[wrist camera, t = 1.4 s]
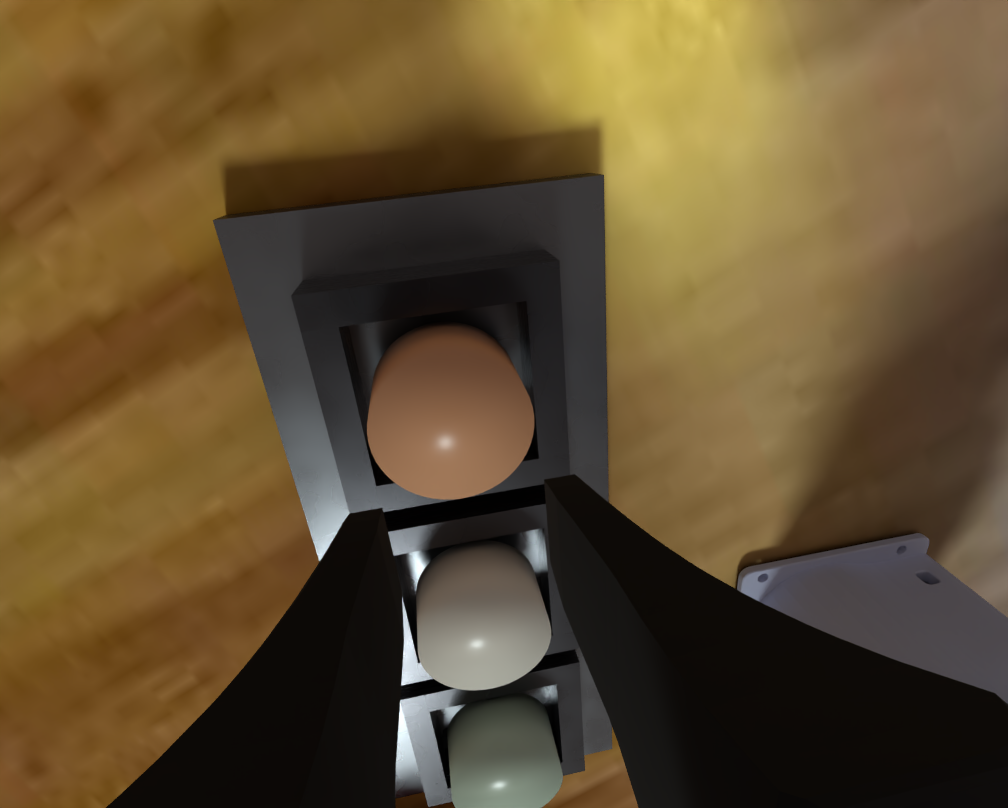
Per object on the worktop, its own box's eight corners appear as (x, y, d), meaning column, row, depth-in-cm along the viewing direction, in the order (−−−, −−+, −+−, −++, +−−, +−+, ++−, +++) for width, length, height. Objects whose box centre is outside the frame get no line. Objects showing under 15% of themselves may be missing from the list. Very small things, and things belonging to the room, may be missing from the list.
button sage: (544, 682, 23) (559, 739, 21) (550, 747, 25) (565, 806, 23) (440, 704, 23) (444, 765, 20) (454, 769, 25) (459, 832, 22)
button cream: (530, 530, 20) (547, 579, 17) (539, 619, 22) (554, 675, 19) (406, 553, 19) (407, 606, 17) (426, 642, 21) (429, 701, 19)
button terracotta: (510, 311, 16) (527, 339, 14) (522, 442, 18) (539, 484, 16) (358, 333, 16) (350, 364, 13) (387, 465, 18) (384, 511, 15)
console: (591, 172, 17) (626, 178, 15) (604, 726, 29) (624, 785, 26) (225, 215, 16) (189, 229, 13) (394, 773, 28) (393, 840, 25)
